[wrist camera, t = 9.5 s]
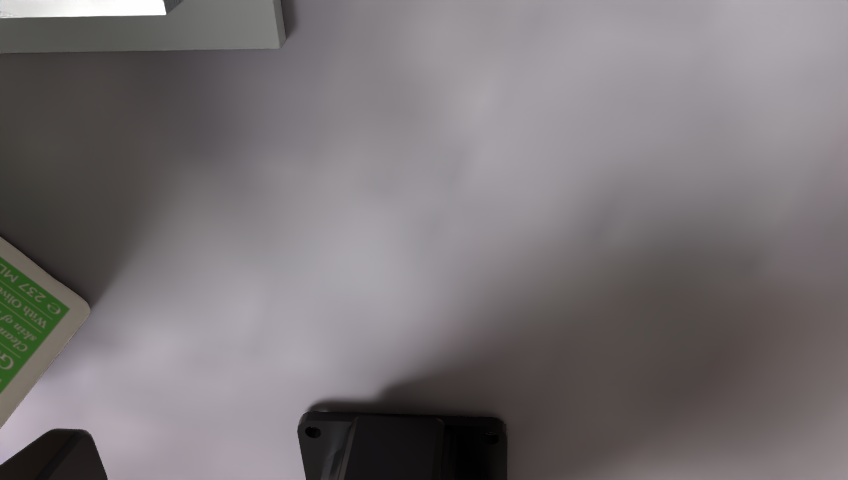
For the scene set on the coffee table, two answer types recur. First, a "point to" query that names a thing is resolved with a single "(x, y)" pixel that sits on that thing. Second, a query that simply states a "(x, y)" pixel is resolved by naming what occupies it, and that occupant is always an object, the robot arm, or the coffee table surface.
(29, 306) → the skincare box
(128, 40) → the piston base
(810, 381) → the coffee table surface
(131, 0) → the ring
